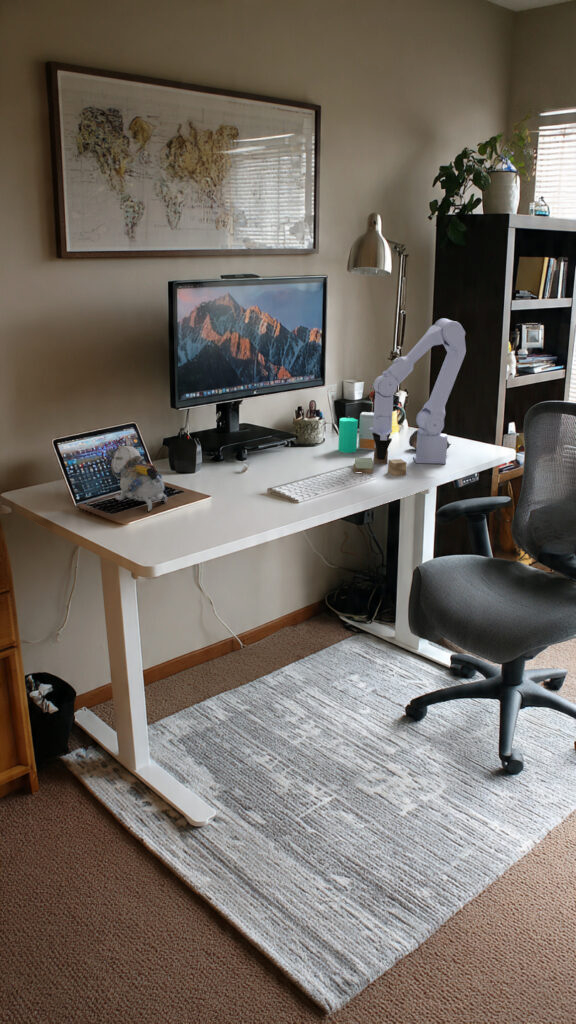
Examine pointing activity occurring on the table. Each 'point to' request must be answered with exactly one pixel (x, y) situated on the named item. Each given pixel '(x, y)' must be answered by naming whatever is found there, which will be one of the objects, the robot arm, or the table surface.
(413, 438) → the bison figurine
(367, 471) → the slab bottom
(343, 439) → the candle
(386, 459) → the walnut cube
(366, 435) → the skincare box
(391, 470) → the oak cube
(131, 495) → the robotic toy
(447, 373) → the robot arm
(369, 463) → the slab top
